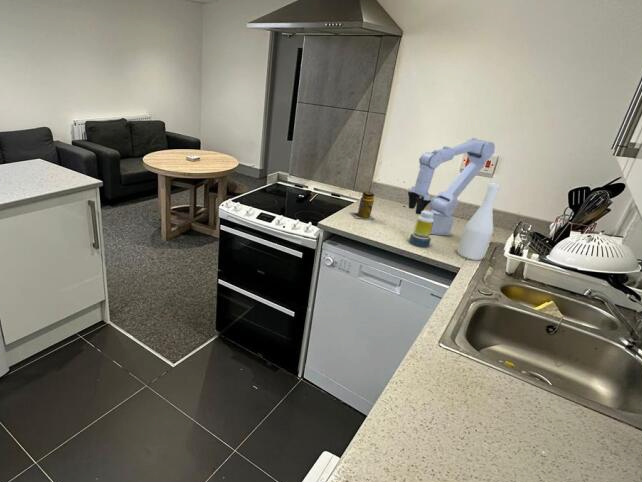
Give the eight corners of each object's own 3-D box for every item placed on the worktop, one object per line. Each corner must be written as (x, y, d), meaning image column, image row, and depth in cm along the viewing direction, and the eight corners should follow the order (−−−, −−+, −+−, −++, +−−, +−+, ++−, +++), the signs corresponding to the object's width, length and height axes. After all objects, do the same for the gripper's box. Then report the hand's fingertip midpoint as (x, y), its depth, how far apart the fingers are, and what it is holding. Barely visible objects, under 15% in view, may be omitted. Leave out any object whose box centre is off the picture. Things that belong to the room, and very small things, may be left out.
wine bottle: (467, 261, 152) (493, 186, 140) (451, 250, 161) (474, 179, 149) (488, 260, 154) (515, 187, 142) (471, 250, 163) (495, 180, 151)
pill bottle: (431, 240, 161) (438, 215, 157) (416, 239, 161) (423, 214, 157) (424, 234, 167) (431, 210, 163) (410, 233, 167) (417, 209, 163)
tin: (424, 240, 169) (425, 234, 168) (432, 248, 162) (434, 241, 161) (406, 239, 169) (408, 232, 168) (413, 246, 162) (415, 240, 160)
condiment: (373, 219, 190) (378, 195, 185) (356, 218, 188) (361, 194, 184) (366, 213, 196) (371, 190, 192) (350, 213, 195) (355, 190, 190)
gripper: (407, 175, 173) (399, 205, 178) (421, 184, 160) (412, 215, 165) (423, 177, 173) (414, 206, 179) (438, 186, 160) (428, 217, 165)
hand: (414, 211), depth 172 cm, fingers open, 7 cm apart
